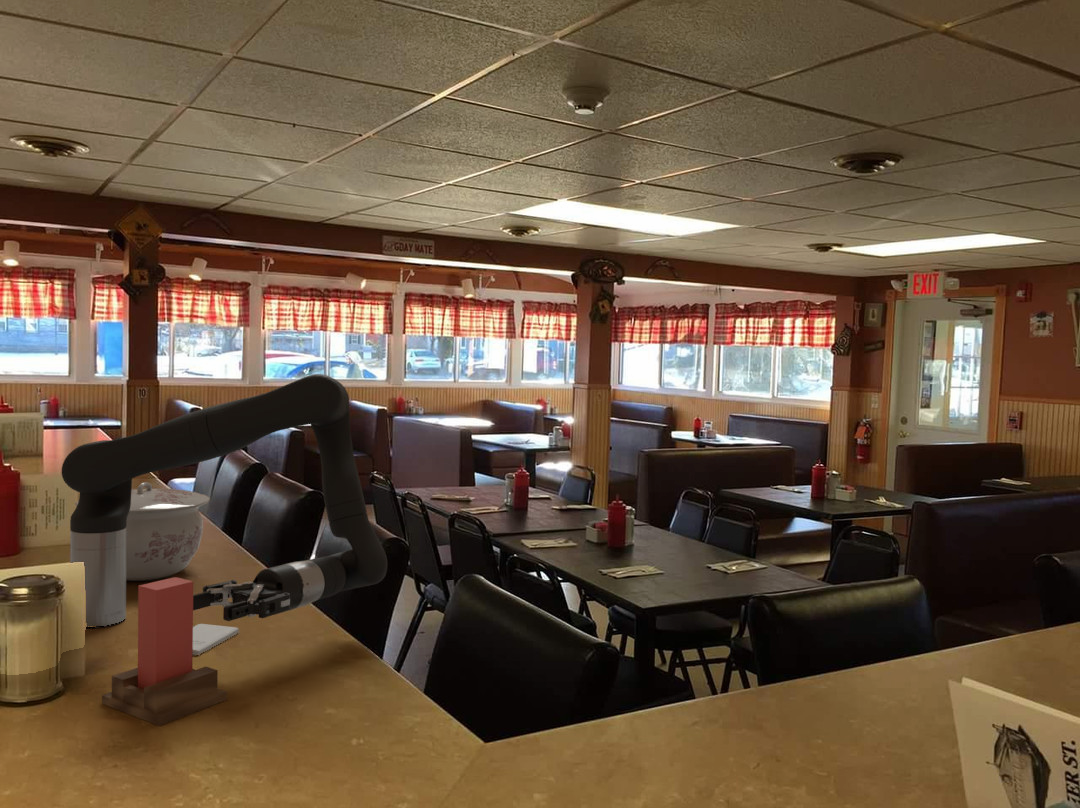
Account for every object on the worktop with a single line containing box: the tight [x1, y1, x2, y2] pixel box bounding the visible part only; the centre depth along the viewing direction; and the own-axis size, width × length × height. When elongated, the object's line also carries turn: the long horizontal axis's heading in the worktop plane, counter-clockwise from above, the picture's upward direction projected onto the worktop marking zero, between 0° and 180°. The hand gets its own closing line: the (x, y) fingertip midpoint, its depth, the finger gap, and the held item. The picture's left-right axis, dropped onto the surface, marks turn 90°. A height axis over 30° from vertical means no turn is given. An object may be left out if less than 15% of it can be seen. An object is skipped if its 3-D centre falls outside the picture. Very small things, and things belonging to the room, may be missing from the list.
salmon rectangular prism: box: [137, 576, 194, 690], centre depth 124 cm, size 4×6×16 cm, turn 150°
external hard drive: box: [193, 623, 240, 656], centre depth 151 cm, size 2×8×12 cm
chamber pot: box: [74, 481, 211, 582], centre depth 194 cm, size 28×28×21 cm
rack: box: [101, 666, 228, 727], centre depth 125 cm, size 13×11×4 cm
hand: (206, 609), depth 130 cm, fingers open, 8 cm apart
